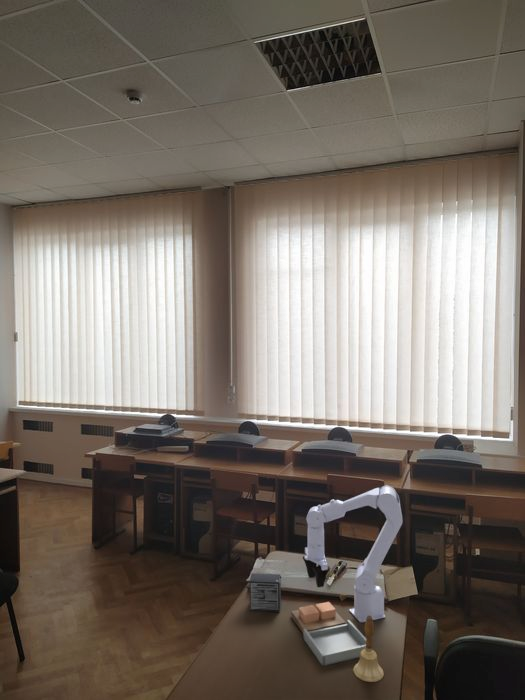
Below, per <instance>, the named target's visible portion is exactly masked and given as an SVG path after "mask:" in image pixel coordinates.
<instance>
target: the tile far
mask: <svg viewBox="0 0 525 700" xmlns="http://www.w3.org/2000/svg"><path fill="white" fill-rule="evenodd" d="M298 610H299V616H300V617H301V618H302V620H303V621H304V622H305V623H308V622H313V621H317V620H319V612H318V611H317V609H316V608H315V606H314V604H310V605H305V606H301V607H300V606H299V607H298Z"/></svg>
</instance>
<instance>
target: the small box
mask: <svg viewBox="0 0 525 700" xmlns="http://www.w3.org/2000/svg"><path fill="white" fill-rule="evenodd" d="M281 578H282V577H281V574H280V573H279V574H278V573H251V574H250V578H249V611H250V612H271V613H272V612H273V613H280V612H281V606H282V594H281V593H282V590H281V589H282V588H281V587H282V585H281V584H282V582H281Z"/></svg>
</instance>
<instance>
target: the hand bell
mask: <svg viewBox="0 0 525 700" xmlns="http://www.w3.org/2000/svg"><path fill="white" fill-rule="evenodd" d="M374 624H375V623H374V620H372V616H367V619H366V622H364V634H365V635H364V636H365V638H366V649H364V650H362V651H361V655H360V658H359V660H358V662H357V663H355V665H354V667H353V673H354V674H353V675H354V676H356V677H357V678H358V679H359V680H361V681H364V682H366V683H367V682H368V683H376V682H379V681H381V680H382V679H383V677H384V670H383V668H382V667H381V666H380V664H379V662H378V654H377V653H376V651H375V650H373V636H374V633H375V632H374V631H375V625H374Z"/></svg>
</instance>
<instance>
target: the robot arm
mask: <svg viewBox="0 0 525 700" xmlns="http://www.w3.org/2000/svg"><path fill="white" fill-rule="evenodd" d="M367 506H369V507H371V508H373V509H375V510H377V507H378V508H379V510H380V511H381V512H382V513H383V514H384V516H385V518H386V520H385V522H384V525H383V526H382V528H381V530H380V532H379V534H378V536H377V538H376V540H375V542H374V544H373V545H372V547H371V550H370V551H369V553H368V555H367V557H366V558H364V561H363V562H362V563H361V564H359V565H358V566H357V568H356V571H355V573H356V575H355V580H354V586H353V587H354V588H353V589H354V590H353V591H354V592H353V593H354V594H353V595H354V596H353V597H354V599H353V600H354V601H353V602H354V603H353V604H354V605H353V608H349V610H348V611H349V612H350V613H351V614H352V615H353V616H354V617H355V619H356V620H357V621H359V623H365V622H366V619H367V616H372V620H373V621H376V620H379V619H385V618H386V615H385V597H384V592H383V589H382V588H381V587H380V586H379V585H375V580H376V578H377V577H378V576H377V575H378V573H379V569H380V567H381V565H382V563H383V562H384V559H385V557H386V555H387V554H388V552H389V550H390V548H391V546H392V544H393V543H394V540H395V539H396V537H397V534H398V532H399V531H400V529H401V527H402V525H403V521H404V520H403V514H402V508H401V500H400V496H399V494H398V493H397V491H396V489H395V488H394V487H392V486H390V485H383V486H381V487H376V488H373V489H371V490H367V491H366V492H364V493H361V494H359V495H356V496H353V497H351V498H349V499H347V500H344V501H343V500H339V499H334V498H333V499H331V500H330V501H329V502H327V503H324V504H322V505H321V504H318V505H317V506H312V507H310V509H309V510H308V513H307V515H306V523H307V529H306V530H307V531H306V532H307V547H304V554H306V555H304V556H302V560H303V562H304V564H305V567H306V570H307V575H308V578H309V579H312V578H313V579H314V578H315V582H316V583H315V584H316V586H317V588H324V586H325V583H326V582H325V581H326V578H327V575H328V573H329V572H330V571H331V570H330V568H331V567H330V566H329V565H328V563H327V559H326V556H325V528H324V525H325V524H324V523H329V522H331V521H334V520H337V519H341V518H344V517H345V514H346V512H350V511H352V510H355V509H359V508H360V509H361V508H364V507H367Z"/></svg>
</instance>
